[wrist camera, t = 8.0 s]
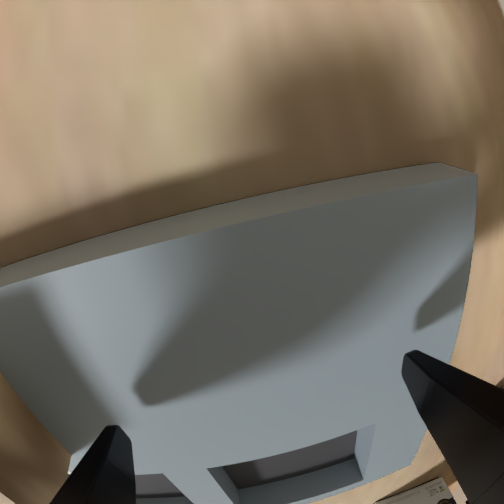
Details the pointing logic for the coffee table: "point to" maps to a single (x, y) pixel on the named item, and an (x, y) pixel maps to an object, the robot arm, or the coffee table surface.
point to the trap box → (249, 335)
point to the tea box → (424, 494)
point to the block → (27, 454)
